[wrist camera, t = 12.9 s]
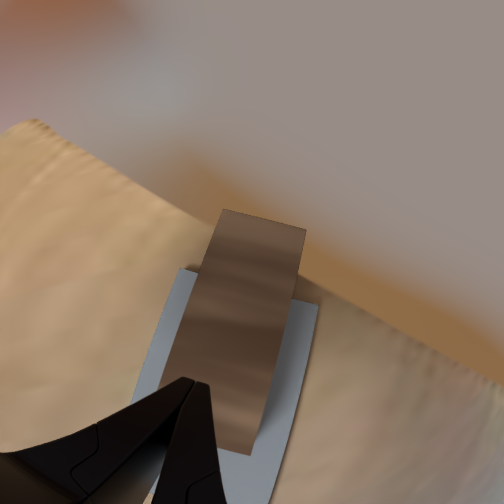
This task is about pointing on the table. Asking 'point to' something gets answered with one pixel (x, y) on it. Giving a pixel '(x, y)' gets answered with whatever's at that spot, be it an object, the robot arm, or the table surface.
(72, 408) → the table surface
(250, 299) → the walnut slab
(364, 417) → the table surface
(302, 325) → the mat
